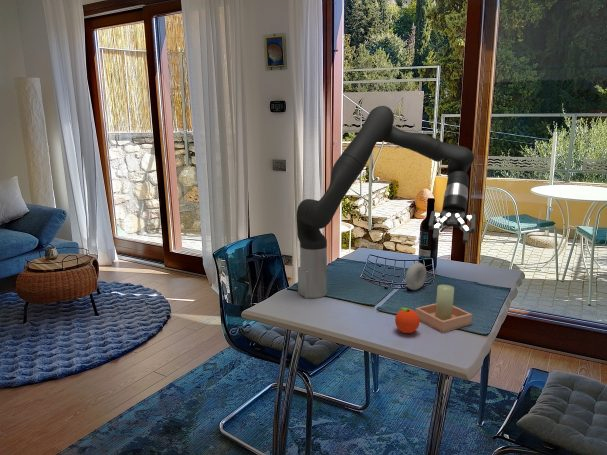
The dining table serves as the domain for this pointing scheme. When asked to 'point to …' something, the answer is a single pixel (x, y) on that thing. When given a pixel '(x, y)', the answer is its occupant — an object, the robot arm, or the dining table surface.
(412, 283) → the donut
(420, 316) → the dish
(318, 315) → the dining table surface
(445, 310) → the pale green cylinder
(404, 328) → the clementine
